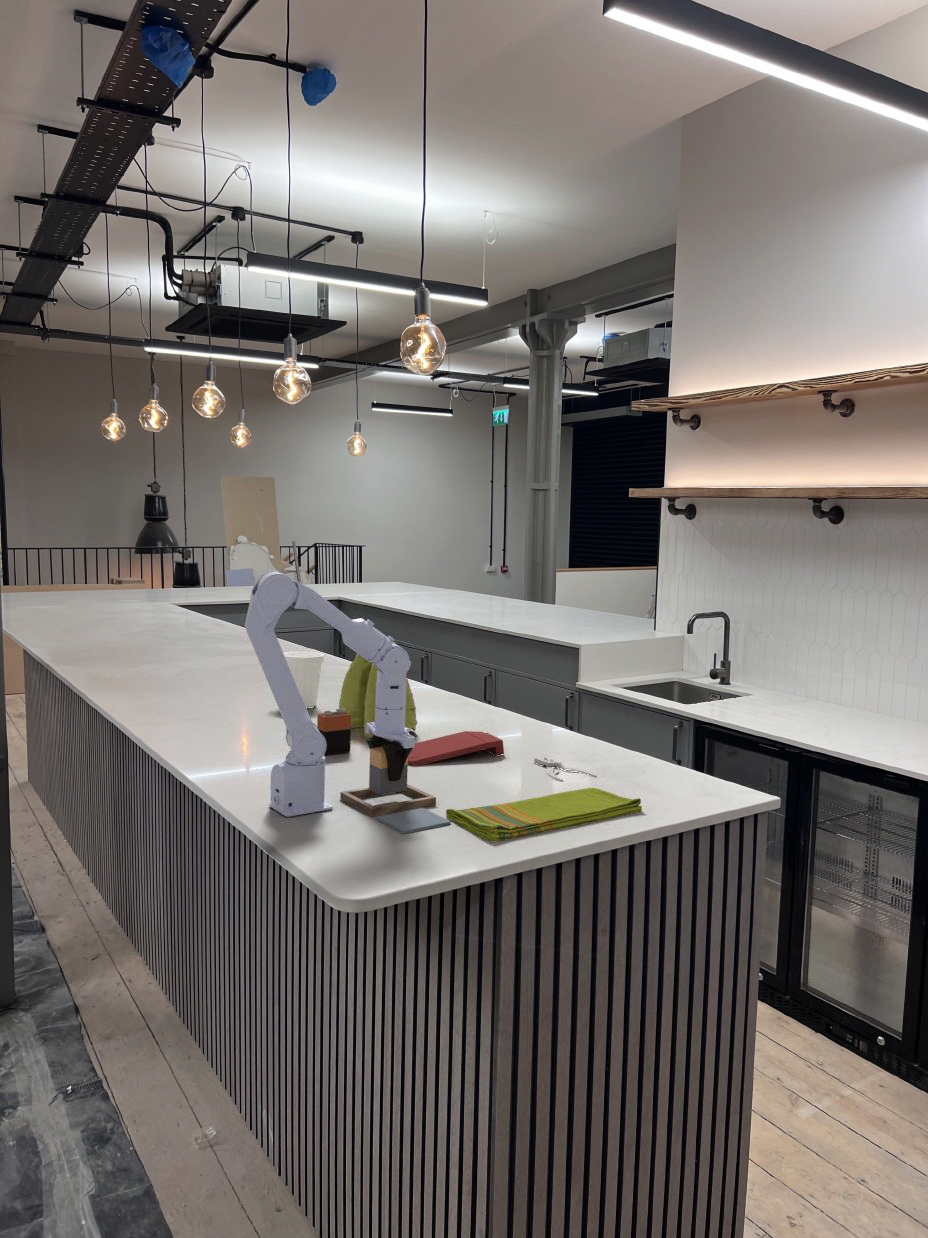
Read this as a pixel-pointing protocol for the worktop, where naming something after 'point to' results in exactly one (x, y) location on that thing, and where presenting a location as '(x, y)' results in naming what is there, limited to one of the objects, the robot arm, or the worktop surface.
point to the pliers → (552, 763)
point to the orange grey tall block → (384, 774)
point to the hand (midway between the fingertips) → (388, 777)
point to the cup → (306, 674)
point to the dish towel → (543, 813)
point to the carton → (454, 747)
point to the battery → (335, 731)
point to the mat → (413, 820)
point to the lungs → (368, 695)
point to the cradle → (419, 802)
